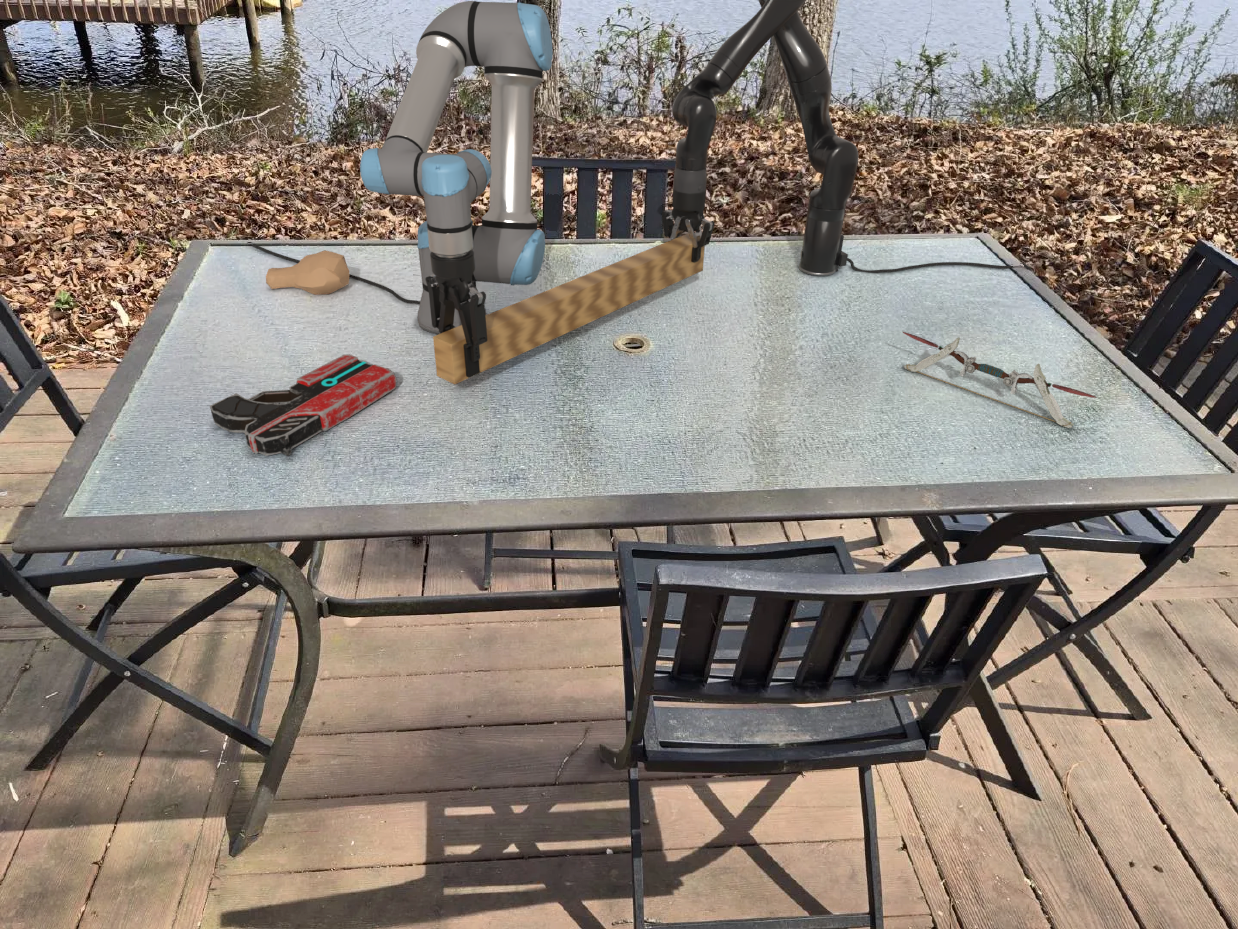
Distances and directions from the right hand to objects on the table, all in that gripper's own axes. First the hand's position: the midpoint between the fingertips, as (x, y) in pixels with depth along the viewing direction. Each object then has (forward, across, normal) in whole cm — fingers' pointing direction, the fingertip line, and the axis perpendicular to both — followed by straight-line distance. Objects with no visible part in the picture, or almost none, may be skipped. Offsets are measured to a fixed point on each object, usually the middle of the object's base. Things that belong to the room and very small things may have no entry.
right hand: (685, 258), depth 209 cm
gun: (+8, +18, +93) cm, 95 cm away
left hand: (+2, 0, +70) cm, 70 cm away
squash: (+8, +67, +60) cm, 90 cm away
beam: (+3, 0, +35) cm, 35 cm away
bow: (+9, -75, +1) cm, 75 cm away
